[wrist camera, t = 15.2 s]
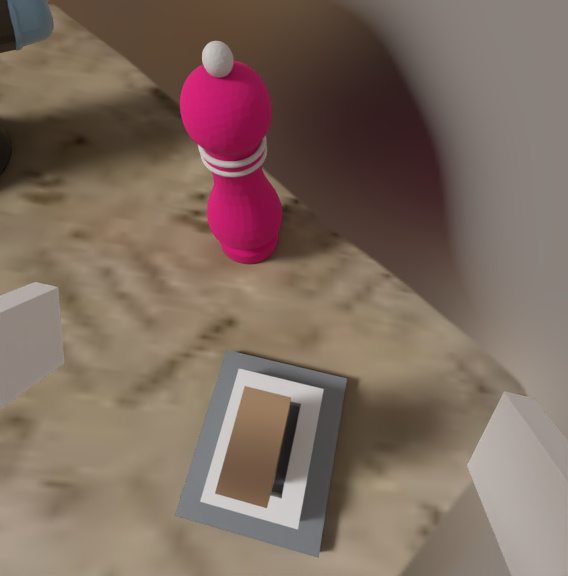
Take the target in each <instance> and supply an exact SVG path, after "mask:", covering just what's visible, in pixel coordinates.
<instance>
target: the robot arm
mask: <svg viewBox="0 0 568 576" xmlns="http://www.w3.org/2000/svg"><path fill="white" fill-rule="evenodd" d="M53 27H54V22H53V17H52V14H51V11H50V8H49V5H48V2H47V0H0V53H2V52H7V51H11V50H16V51H17V50H21V49H22V47H23V46H26V45H29V44H33V43H36V42H39V41H42V40H45V39H47V38H48V37H49V36H50V35H51V33H52V31H53ZM10 152H11V143H10V139H9V137H8V135H7V133H6V132H5V131H4V130H3V128H2V127H1V126H0V174H1V172H2V171H3V169H4V168H5V166H6V164H7V162H8V160H9V156H10ZM64 363H65V361H64V350H63V338H62V327H61V316H60V304H59V293H58V287H55V286H50V285H46V284H42V283H37V282H34V283H31V284H29V285H26V286H24V287H21V288H19V289H16V290H13V291H11V292H8V293H6V294H3V295H1V296H0V409H1V408H3V407H4V406H6V405H7V404H8V403H10V402H11V401H13V400H14V399H15V398H17V397H18V396H19V395H21V394H22V393H24V392H25V391H26V390H28V389H29V388H31V387H32V386H33V385H35V384H36V383H38V382H39V381H40V380H42V379H43V378H44V377H46V376H47V375H49V374H50V373H51V372H53V371H54V370H56V369H57V368H58V367H60V366H61V365H63V364H64ZM467 467H468V469H469V472H470V474H471V477H472V479H473V482H474V484H475V487H476V489H477V492H478V494H479V497H480V499H481V502H482V504H483V507H484V509H485V511H486V514H487V516H488V519H489V521H490V524H491V526H492V529H493V531H494V533H495V536H496V539H497V541H498V544H499V546H500V549H501V551H502V554H503V556H504V558H505V561H506V564H507V566H508V568H509V571H510V573H511V576H568V440H567V439H566V437H565V436H564V435H563V434H562V433H561V431H560V430H559V429H558V427H557V426H556V425H555V424H554V422H553V421H552V420H551V419H550V417H549V416H548V415H547V414H546V413H545V411H544V410H543V409H542V408H541V406H540V405H539V404H538V403H537V401H536V400H535V399H534V398H531V397H527V396H523V395H518V394H514V393H510V392H506V391H504V393H503V395H502V397H501V399H500V401H499V403H498V405H497V407H496V409H495V411H494V413H493V415H492V417H491V419H490V421H489V423H488V425H487V427H486V429H485V431H484V433H483V435H482V437H481V439H480V441H479V443H478V445H477V447H476V449H475V451H474V453H473V455H472V457H471V459H470V461H469V463H468V465H467Z"/></svg>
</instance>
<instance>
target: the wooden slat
mask: <svg viewBox="0 0 568 576" xmlns="http://www.w3.org/2000/svg"><path fill="white" fill-rule="evenodd" d="M290 403H291V397H287V396H283V395H279V394H275V393H271V392H267V391H263V390H259V389H255V388H251V387H247V386H245V387H244V390H243V394H242V398H241V401H240V405H239V408H238V412H237V416H236V419H235V423H234V426H233V430H232V434H231V437H230V441H229V444H228V448H227V452H226V455H225V459H224V462H223V466H222V470H221V473H220V477H219V480H218V484H217V488H216V491H215V494H218V495H222V496H225V497H229V498H232V499H236V500H239V501H243V502H246V503H250V504H254V505H257V506H261V507H264V508H267V506H268V502H269V499H270V495H271V492H272V488H273V484H274V481H275V476H276V471H277V467H278V462H279V458H280V453H281V449H282V444H283V439H284V435H285V430H286V426H287V421H288V416H289V410H290Z"/></svg>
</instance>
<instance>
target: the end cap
mask: <svg viewBox="0 0 568 576" xmlns="http://www.w3.org/2000/svg"><path fill="white" fill-rule="evenodd" d="M346 382H347V378H343V377H339V376H334V375H330V374H326V373H322V372H318V371H313V370H309V369H305V368H301V367H297V366H292V365H288V364H284V363H280V362H276V361H271V360H267V359H263V358H259V357H255V356H251V355H246V354H242V353H238V352H234V351H230V350H226V353H225V356H224V360H223V363H222V366H221V369H220V372H219V376H218V379H217V382H216V385H215V388H214V392H213V395H212V398H211V401H210V404H209V408H208V411H207V414H206V417H205V420H204V424H203V427H202V430H201V433H200V436H199V440H198V443H197V446H196V449H195V452H194V456H193V459H192V462H191V465H190V468H189V472H188V475H187V478H186V481H185V484H184V488H183V491H182V494H181V497H180V500H179V504H178V507H177V510H176V513H175V516H178V517H181V518H185V519H188V520H192V521H195V522H199V523H202V524H205V525H209V526H212V527H216V528H219V529H222V530H226V531H229V532H233V533H236V534H239V535H243V536H246V537H250V538H253V539H257V540H260V541H263V542H267V543H270V544H274V545H277V546H280V547H284V548H287V549H291V550H294V551H297V552H301V553H304V554H308V555H311V556H315V557H318V558H319V551H320V545H321V539H322V533H323V526H324V520H325V514H326V507H327V501H328V495H329V489H330V482H331V476H332V470H333V463H334V457H335V451H336V445H337V438H338V432H339V426H340V419H341V413H342V407H343V401H344V394H345V388H346ZM245 386H247V387H251V388H255V389H259V390H263V391H267V392H271V393H275V394H279V395H283V396H287V397H291V403H290V410H289V416H288V421H287V426H286V430H285V435H284V439H283V444H282V449H281V453H280V458H279V462H278V467H277V471H276V476H275V481H274V484H273V488H272V492H271V495H270V499H269V502H268V506H267V508H264V507H261V506H257V505H254V504H250V503H246V502H243V501H239V500H236V499H232V498H229V497H225V496H222V495H218V494H215V491H216V488H217V484H218V480H219V477H220V473H221V470H222V466H223V462H224V459H225V455H226V452H227V448H228V444H229V441H230V437H231V434H232V430H233V426H234V423H235V419H236V416H237V412H238V408H239V405H240V401H241V398H242V394H243V390H244V387H245Z"/></svg>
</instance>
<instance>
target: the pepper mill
mask: <svg viewBox="0 0 568 576" xmlns="http://www.w3.org/2000/svg"><path fill="white" fill-rule="evenodd" d="M202 62H203V65H201V66H199V67H198V68H196V69H195V70H194V71H193V72H192V73H191V74H190V75H189V77H188V78H187V79H186V81H185V83H184V85H183V88H182V91H181V96H180V113H181V117H182V121H183V124H184V126H185V129H186V131H187V132H188V134H189V136H190V137H191V138H192V140H193V141H194V142H196V143H197V144H198V148H199V151H200V153H201V159H202V161H203V163H204V165H205V166H206V167H207V168H208V169H209V170H210V171H212V173H213V178H214V186H213V189H212V191H211V194H210V197H209V200H208V207H207V217H208V222H209V226H210V229H211V231H212V233H213V234H214V236H215V237H216V238H217V239H218V240H219V241H220V244H221V247H222V249H223V251H224V253H225V254H226V255H227V256H228V257H229V258H231V259H232V260H234V261H236V262H239V263H244V264H252V263H257V262H260V261H263V260H265V259H266V258H268V257H269V256H270V255H271V254H272V253H273V252H274V250H275V249H276V246H277V243H278V231H279V229H280V227H281V223H282V208H281V203H280V200H279V197H278V195H277V193H276V191H275V189H274V188H273V186H272V185H271V184H270V182H269V181H268V180H267V178H266V177H265V175H264V173H263V171H262V166H261V164H262V163H263V162H264V160H265V158H266V154H267V146H266V133H267V131H268V129H269V126H270V123H271V115H272V106H271V100H270V96H269V92H268V89H267V87H266V85H265V83H264V82H263V80H262V78H261V77H260V76H259V75H258V74H257V73H256V72H255V71H254V70H253V69H251V68H250V67H249V66H247V65H245V64H242V63H240V62H238V61H233V55H232V53H231V50H230V49H229V47H228V46H227V45H225V44H224V43H223V42H220V41H213V42H210V43H208V44H207V45H206V47H205V48H204V50H203V55H202Z"/></svg>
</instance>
